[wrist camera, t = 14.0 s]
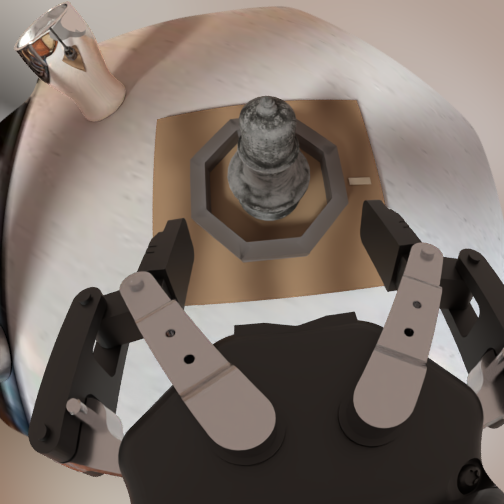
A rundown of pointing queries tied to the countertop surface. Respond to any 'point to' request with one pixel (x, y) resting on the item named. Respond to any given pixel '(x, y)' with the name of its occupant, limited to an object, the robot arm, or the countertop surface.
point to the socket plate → (268, 232)
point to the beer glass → (71, 61)
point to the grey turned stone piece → (268, 160)
